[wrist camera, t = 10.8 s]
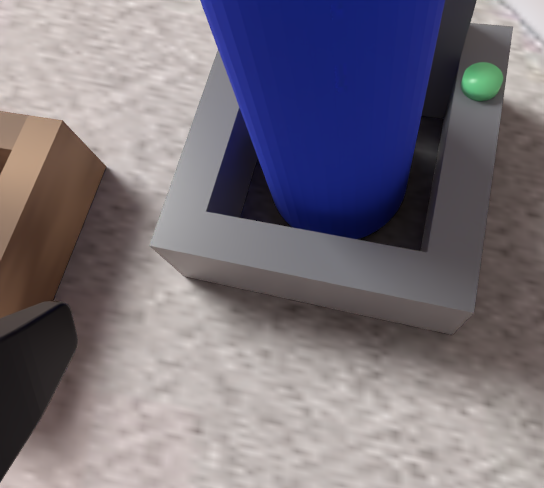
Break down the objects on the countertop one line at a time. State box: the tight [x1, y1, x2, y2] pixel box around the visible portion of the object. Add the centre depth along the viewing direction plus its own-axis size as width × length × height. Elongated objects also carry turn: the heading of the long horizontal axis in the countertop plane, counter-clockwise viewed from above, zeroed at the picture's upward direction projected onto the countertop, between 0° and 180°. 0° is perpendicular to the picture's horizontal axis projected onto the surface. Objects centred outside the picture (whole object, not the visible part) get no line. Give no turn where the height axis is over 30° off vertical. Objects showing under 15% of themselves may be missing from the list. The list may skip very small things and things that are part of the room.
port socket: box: [149, 0, 513, 335], centre depth 17 cm, size 10×10×6 cm
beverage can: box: [200, 0, 445, 239], centre depth 13 cm, size 5×5×15 cm
